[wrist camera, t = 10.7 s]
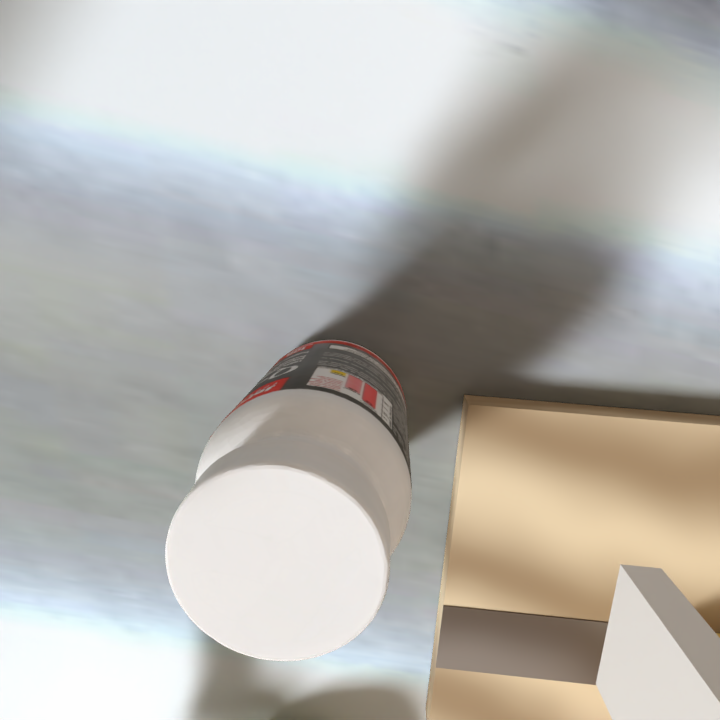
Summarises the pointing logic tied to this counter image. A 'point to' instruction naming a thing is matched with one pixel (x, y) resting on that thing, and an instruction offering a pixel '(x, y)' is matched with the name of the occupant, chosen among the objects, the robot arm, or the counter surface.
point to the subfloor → (563, 547)
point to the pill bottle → (297, 507)
